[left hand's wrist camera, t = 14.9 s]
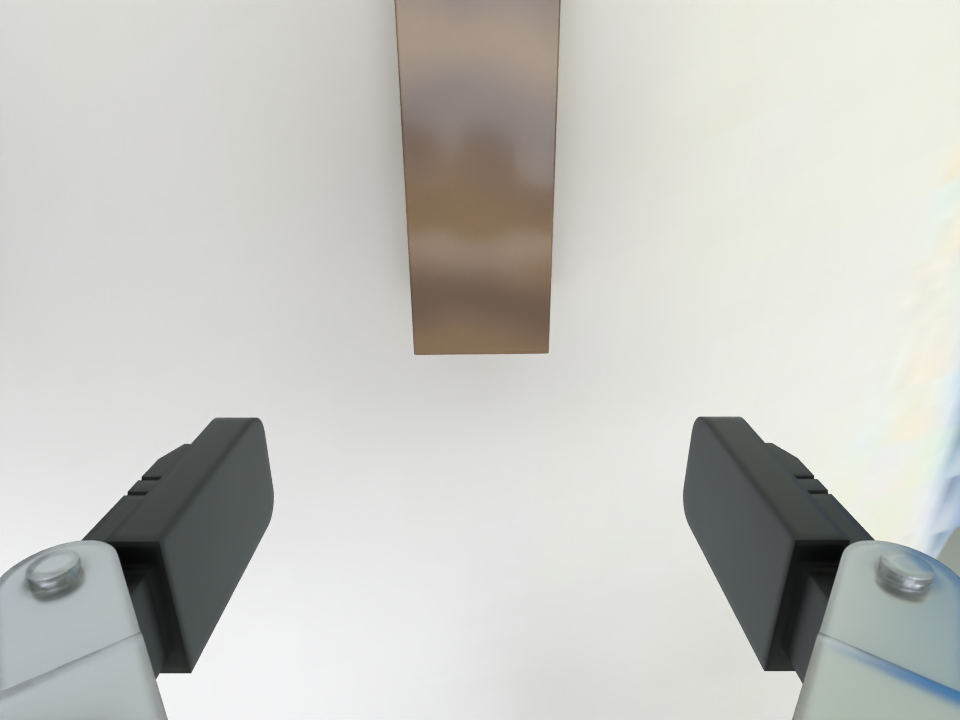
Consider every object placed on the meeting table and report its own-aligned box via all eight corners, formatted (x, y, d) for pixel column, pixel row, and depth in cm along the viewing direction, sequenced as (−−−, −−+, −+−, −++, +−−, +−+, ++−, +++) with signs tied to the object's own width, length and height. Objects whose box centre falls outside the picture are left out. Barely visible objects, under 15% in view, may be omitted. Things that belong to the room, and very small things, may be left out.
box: (531, 294, 35) (548, 353, 26) (430, 295, 35) (414, 355, 26) (545, -370, 24) (582, -646, 16) (402, -368, 24) (359, -642, 16)
